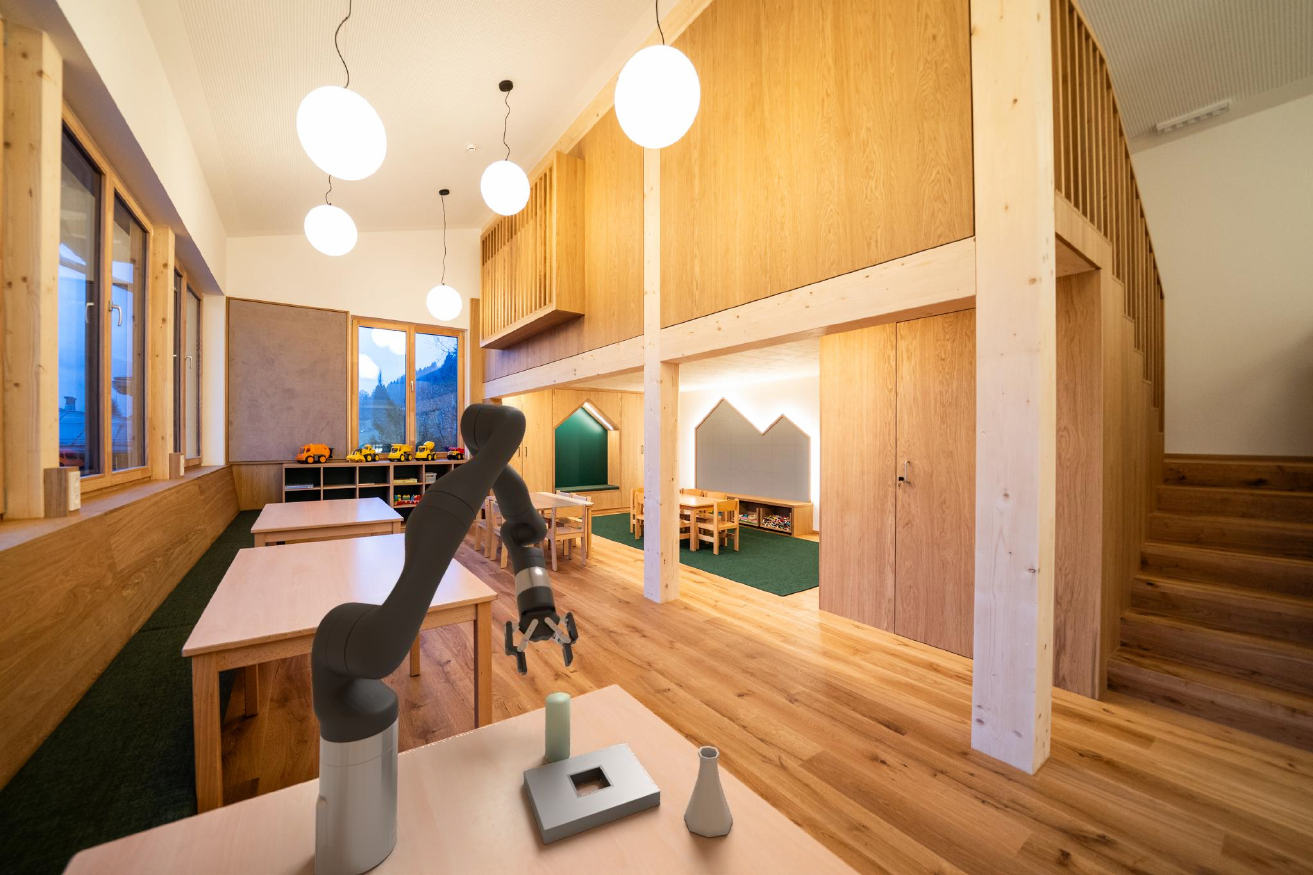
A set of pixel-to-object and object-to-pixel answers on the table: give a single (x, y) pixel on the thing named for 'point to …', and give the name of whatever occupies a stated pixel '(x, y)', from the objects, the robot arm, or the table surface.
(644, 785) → the socket plate
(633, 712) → the table surface
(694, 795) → the flask
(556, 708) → the peg
